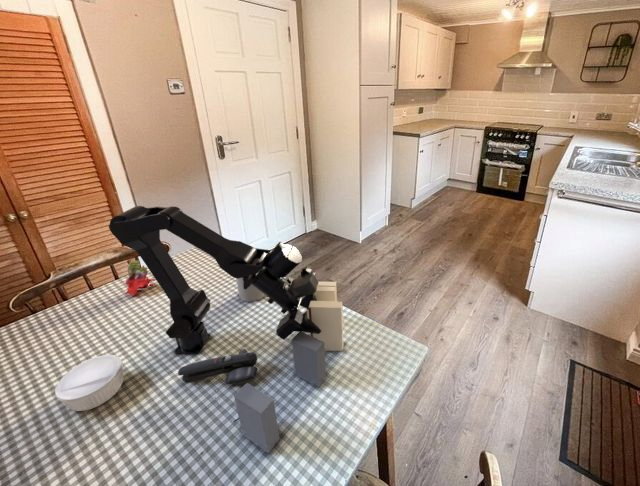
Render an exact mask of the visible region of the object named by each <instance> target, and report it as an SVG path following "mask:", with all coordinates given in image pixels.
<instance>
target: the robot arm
mask: <svg viewBox="0 0 640 486" xmlns="http://www.w3.org/2000/svg"><path fill="white" fill-rule="evenodd" d="M108 229H109V231H110V233H111V234H112V235H113V237H115V238H116V239H117V241H118V242H119V243H120V244H121V245H122V246H125V247H127V248H128V249H131V250H133V251H135V252H136V253H137V254H138V255H139V257H140V258H141V260H142V262H143V263H144V264H145V265H146V266H145V267H147V270H149V271H150V273H151V274H152V276H153V278H154V279H155V281H156V282H157V284H158V285H159V286H160V288H161V289H162V291H163V292H164V294H165V295H166V296H167V298H168V300H169V314H170V317H171V318H172V321H173V323H172V324H171V325H170V326H169V327H168V328H167V329H166V331H165V334H166V335H167V336H168V338H170V339H175V342H176V345H177V347H176V349H175V350H174V351H173V352H174V354H176V355H179V354H180V355H199V354H200V353H201V352H202V350H203V349H204V347H205V346H206V345H207V343H208V341H209V340H210V338H211V336H212V335H211V334H210V333H208V329H207V327H206V326H205V323H204V321H203V319H204V318H205V317H206V315H207V314H208V312H209V311H210V309H211V303H210V302H211V301H212V299H210V298H209V297H208V296H207V293H206V292H205V290H203V289H199V290H197V289H194V288H192V287H191V286H190V285H189V283H188V282H187V280H186V278H185V277H184V275H183V274H182V272H181V271H180V269H179V267H178V266H177V264H176V263H175V261H174V259H173V258H172V257H171V255H170V253H169V251H168V250H167V248H166V247H165V245H164V244H163V242H162V241H161V231H163V230H166V231H168V232H170V233H171V234H173V235H175V236H176V237H177V238H179V239H181V240H183V241H185V242H186V243H188V244H190V245H192V246H193V247H195V248H197V249H199V250H200V251H202V252H204V253H205V254H207V255H209V256H211V257H212V259H214V260H215V262H216V263H217V265H218V267H219V268H220V269H222V271H224V272H225V273H226V274H227V275H229V277H232V278H234V279H236V278H237V279H239V278H243V282H244V285H243V288H244V289H247V288H248V287H249V286H250V285H251V284H252V285H253V286H254V287H255V288H257V289H258V290H259V291H261V292H262V293H263V294H265V295H264V296H266V297H267V298H268V299H267V303H268V304H270V305H272V304H273V303H275V304H277V305H278V306H279V307H280V308H281V310H280V313H281V314H283V315H284V316H283V317H282V318H281V319H279V323H278V325H277V327H276V330H275V332H276V336H277V337H278V338H280V339H281V340H283V341H285V340H286V339H287V338H288V337H289V336H290V335H292V334H293V333H294V332H297V333H298V332H300V331H301V332H303V333H308V334H310V333H315V334H319V333H321V330H320V328H319V327H318V326H317V325H315V324H314V323H313V322H312V321H311V320H310V319H309V318H308V316H307V309H308V310H309V305H310V301H317V299H316V297H315V295H314V293H315V292H316V290H317V285H318V283H319V282H320V281H319V280H318V279H317V277H316V275H317V273H316V271H314V270H313V269H311V268H310V267H309V266H305V267H302V268H301V270H300V274H299V275H297V278H295V279H294V278H292V276H288V275H289V274H290V273H291V272H292V271H293V270H294V269H295V268H296V267H297V266H299V265H300V264H301V263H302V262H303V256H302V254H301V252H300V250H299V249H298V248H297V247H296V246H295V245H292V244H289V243H283V242H281V241H278V243H277V244H276V245H275V247H273V248H272V250H271V249H265V248H264V249H263V248H256V247H253V246H252V245H250V244H247V243H245V242H243V241H240V240H233V239H229V238H226V237H224V236H222V235H221V234H219V233H217V232H216V231H215V230H212V229H211V228H209V227H208V226H207V225H204V224H203V223H201V222H200V221H198V220H196V219H195V218H193V217H191V216H190V215H188V214H187V213H185V212H183V210H182V209H181V208H180V207H178V206H166V207H165V206H152V207H145V206H142V205H136V206H133V207H132V208H129V209H127V210H125V211H123V212H121V213H118V214H117V215H115V216H113V217H112V218H111V219H110V221H109V224H108ZM300 307H302V308H304V309H306V311H304V312H302V311H301V310H300ZM287 312H288V313H287Z"/></svg>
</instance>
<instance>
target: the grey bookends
mask: <svg viewBox="0 0 640 486" xmlns="http://www.w3.org/2000/svg"><path fill="white" fill-rule="evenodd" d="M291 349H292V355H293V356H292V358H293V366H294V375H295V376H296V377H299V378H301V379H302V380H304V381H305V382H307V383H310V384H311V385H312V386H315V387H316V388H320V387H321V385H322V384H323V383H324V382H325V380H326V379H327V367H326V366H327V364H326V363H327V362H326V351H325V346H324V342H323V341H321V340H319V339H316V338H314V337H312V336H311V334H309V333H308V334H307V332H301V331H300V332H298V331H297V333H296V334H295V335H294V336H293V337H292V338H291ZM233 399H234V402H235V406H236V412H237V416H238V420H239V425H240V430H241V435H242V436H244V437H245V438H246V439H248V440H249V441H250V442H251V443H253V444H254V445H256V446H257V447H259V448H260V449H261V450H262V451H263V452H266V453H267V454H270V452H271V451H272V450H273V448H274V447H275V446H276V444H277V443H278V441H279V440H280V433H279V426H278V419H277V411H276V406H275V399H274V398H272V397H271V396H269V395H267V394H266V393H264V392H263V391H261V390H259V389H257V388H256V387H255V386H252V385H251V384H249V382H246V383H244V385H243V386H242V387H240V389H239V390H238V391H237V392H236V393H235V394H234V395H233Z"/></svg>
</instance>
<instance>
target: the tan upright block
mask: <svg viewBox="0 0 640 486" xmlns="http://www.w3.org/2000/svg"><path fill="white" fill-rule="evenodd" d="M318 282H319V283H318V285H317V290H316V292H315V293H314V295H315V297H316V299H317V301H338V295H337V293H338V292H337V290H338V289H337V281H318ZM306 311H307V316H308V318H309V310H308V309H306Z"/></svg>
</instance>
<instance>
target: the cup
mask: <svg viewBox="0 0 640 486" xmlns="http://www.w3.org/2000/svg"><path fill="white" fill-rule="evenodd" d="M235 279H236V284H237V286H236V287H237V291H238V295H239V299H240V301H243V302H246V303H249V302H250V303H251V302H256V301H259V300H260V299H262V298H264V296H266V295H265V294H263V293H262V292H261V291H259V290H258V289H257V288H255V287H254V286H253V285H252V284H251V285H250V286H249V287H248V288H247V289H244V288H243V285H244V282H243V278H239V279H237V278H235Z"/></svg>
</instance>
